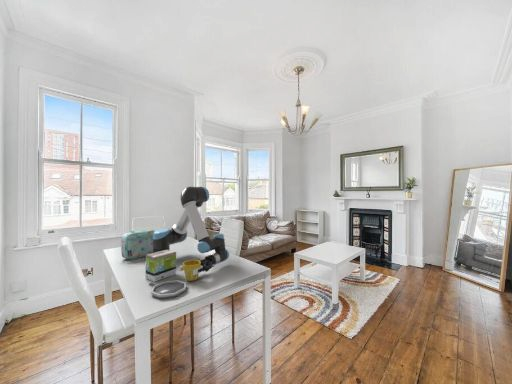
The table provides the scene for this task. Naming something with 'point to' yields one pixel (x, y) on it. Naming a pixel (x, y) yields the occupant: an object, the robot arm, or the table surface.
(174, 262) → the tea box
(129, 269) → the table surface
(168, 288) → the octagonal handled pan
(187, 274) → the plant pot
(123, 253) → the lunch box
